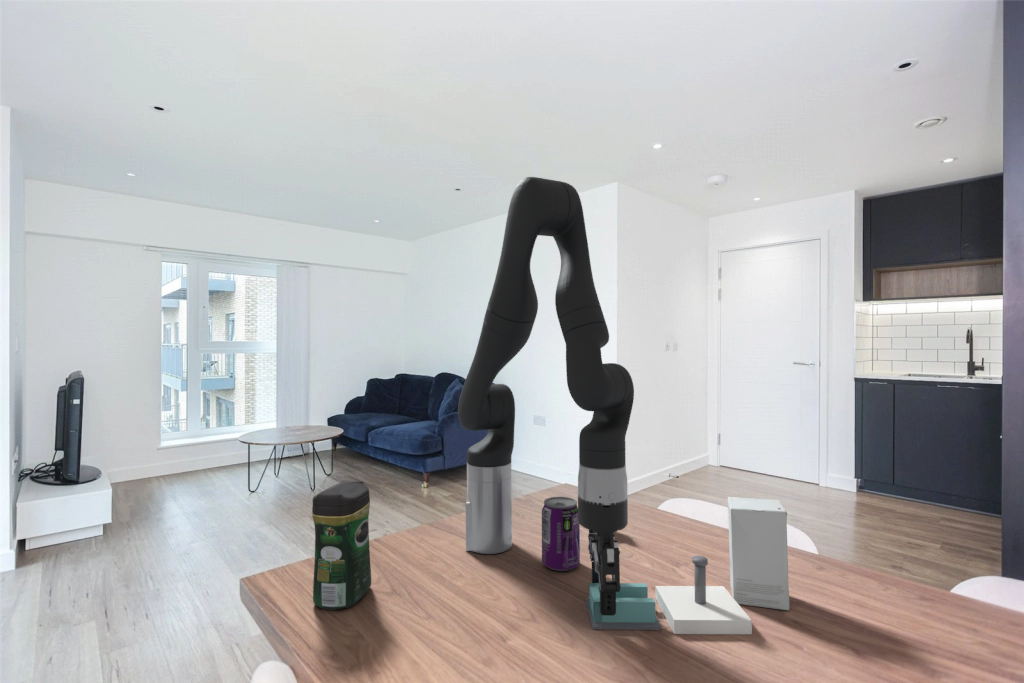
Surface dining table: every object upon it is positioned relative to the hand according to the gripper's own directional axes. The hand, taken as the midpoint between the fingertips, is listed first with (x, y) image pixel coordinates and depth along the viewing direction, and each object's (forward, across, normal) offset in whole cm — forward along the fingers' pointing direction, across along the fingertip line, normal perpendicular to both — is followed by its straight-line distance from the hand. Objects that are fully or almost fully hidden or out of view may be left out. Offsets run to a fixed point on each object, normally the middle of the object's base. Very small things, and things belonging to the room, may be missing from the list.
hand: (603, 599), depth 76 cm
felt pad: (+2, 0, +3) cm, 4 cm away
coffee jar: (+3, -5, -42) cm, 43 cm away
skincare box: (+3, -5, +26) cm, 26 cm away
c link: (+2, 0, +3) cm, 3 cm away
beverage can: (+3, -17, -5) cm, 18 cm away
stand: (+2, 0, +15) cm, 15 cm away
